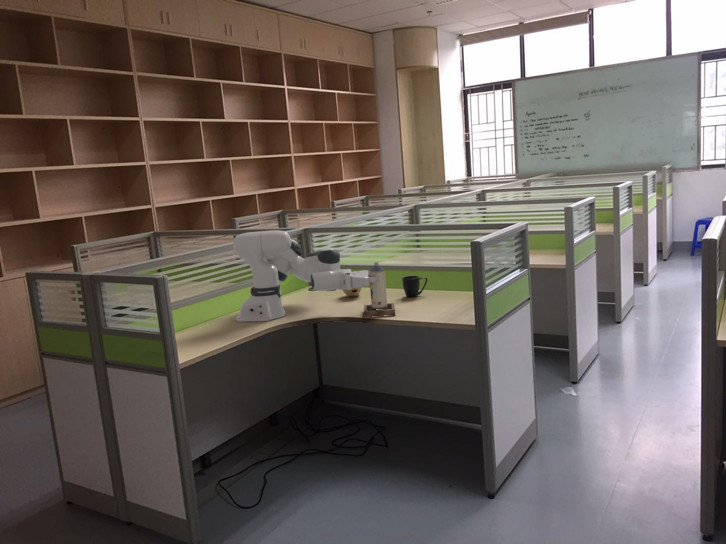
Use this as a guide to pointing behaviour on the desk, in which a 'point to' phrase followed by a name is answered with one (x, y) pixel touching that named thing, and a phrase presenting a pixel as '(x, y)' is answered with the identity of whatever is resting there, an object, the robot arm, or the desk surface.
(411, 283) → the mug
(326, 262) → the robot arm
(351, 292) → the egg character toy
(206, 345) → the desk surface
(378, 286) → the aerosol can
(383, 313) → the frame
